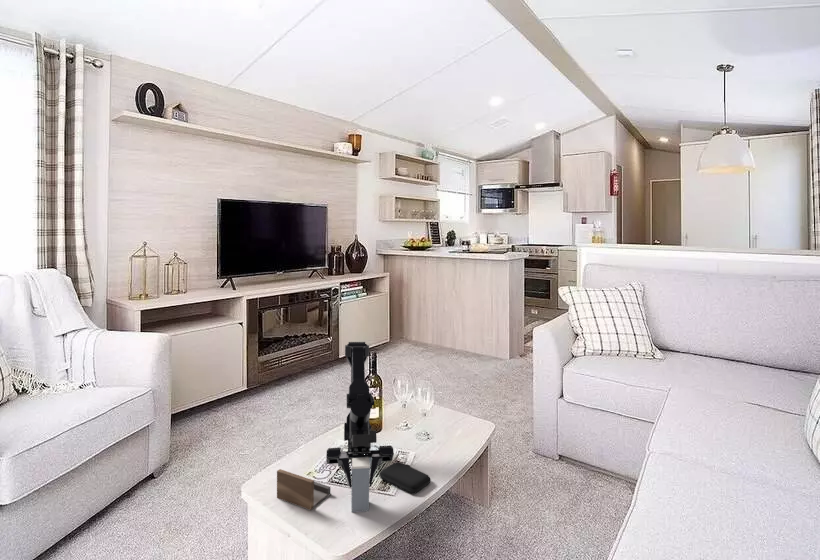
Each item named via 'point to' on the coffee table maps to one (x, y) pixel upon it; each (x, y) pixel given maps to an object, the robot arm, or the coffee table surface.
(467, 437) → the coffee table surface
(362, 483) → the white tall block
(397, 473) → the carrying case or bag
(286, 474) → the stand
